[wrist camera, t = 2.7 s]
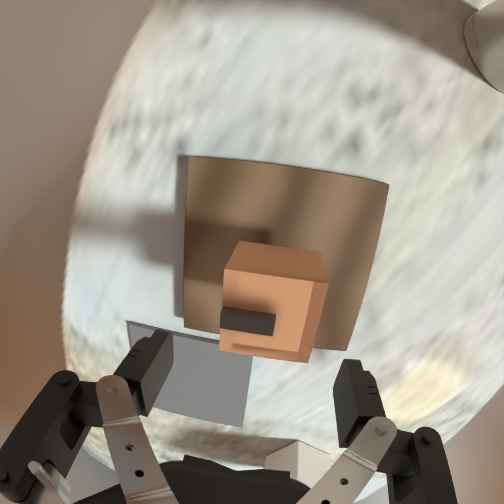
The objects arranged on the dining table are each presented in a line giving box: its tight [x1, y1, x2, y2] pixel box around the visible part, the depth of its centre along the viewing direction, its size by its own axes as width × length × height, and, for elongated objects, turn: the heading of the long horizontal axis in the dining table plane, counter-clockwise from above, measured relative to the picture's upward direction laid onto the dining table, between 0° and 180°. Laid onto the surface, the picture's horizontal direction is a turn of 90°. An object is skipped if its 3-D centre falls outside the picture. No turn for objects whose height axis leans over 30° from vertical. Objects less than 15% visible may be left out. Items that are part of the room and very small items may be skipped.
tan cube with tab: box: [219, 241, 328, 363], centre depth 18 cm, size 6×6×6 cm
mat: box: [128, 322, 253, 427], centre depth 32 cm, size 14×14×1 cm
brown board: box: [184, 157, 389, 351], centre depth 22 cm, size 16×16×9 cm
